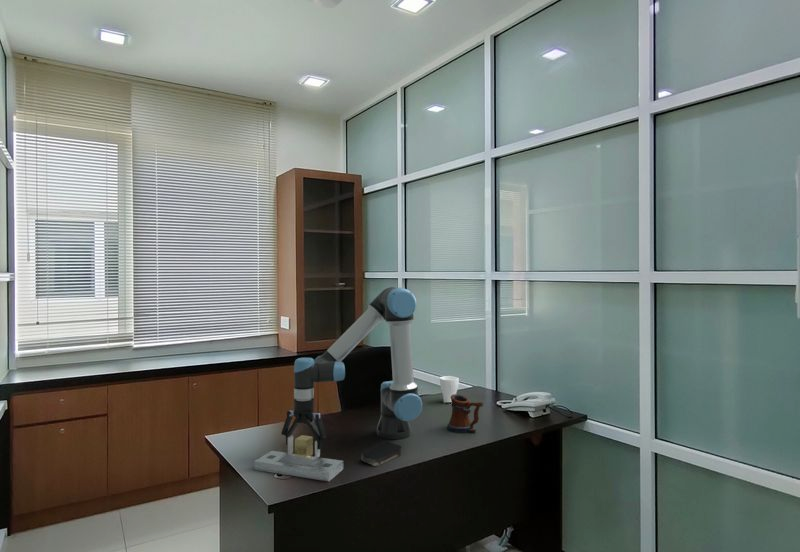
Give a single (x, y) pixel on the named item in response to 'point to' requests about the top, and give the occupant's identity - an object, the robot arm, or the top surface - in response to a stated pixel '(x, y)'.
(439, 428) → the top surface
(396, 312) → the robot arm
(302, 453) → the yellow block
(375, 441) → the top surface
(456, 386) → the cup
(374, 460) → the black sponge
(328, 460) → the rail
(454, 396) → the mug
